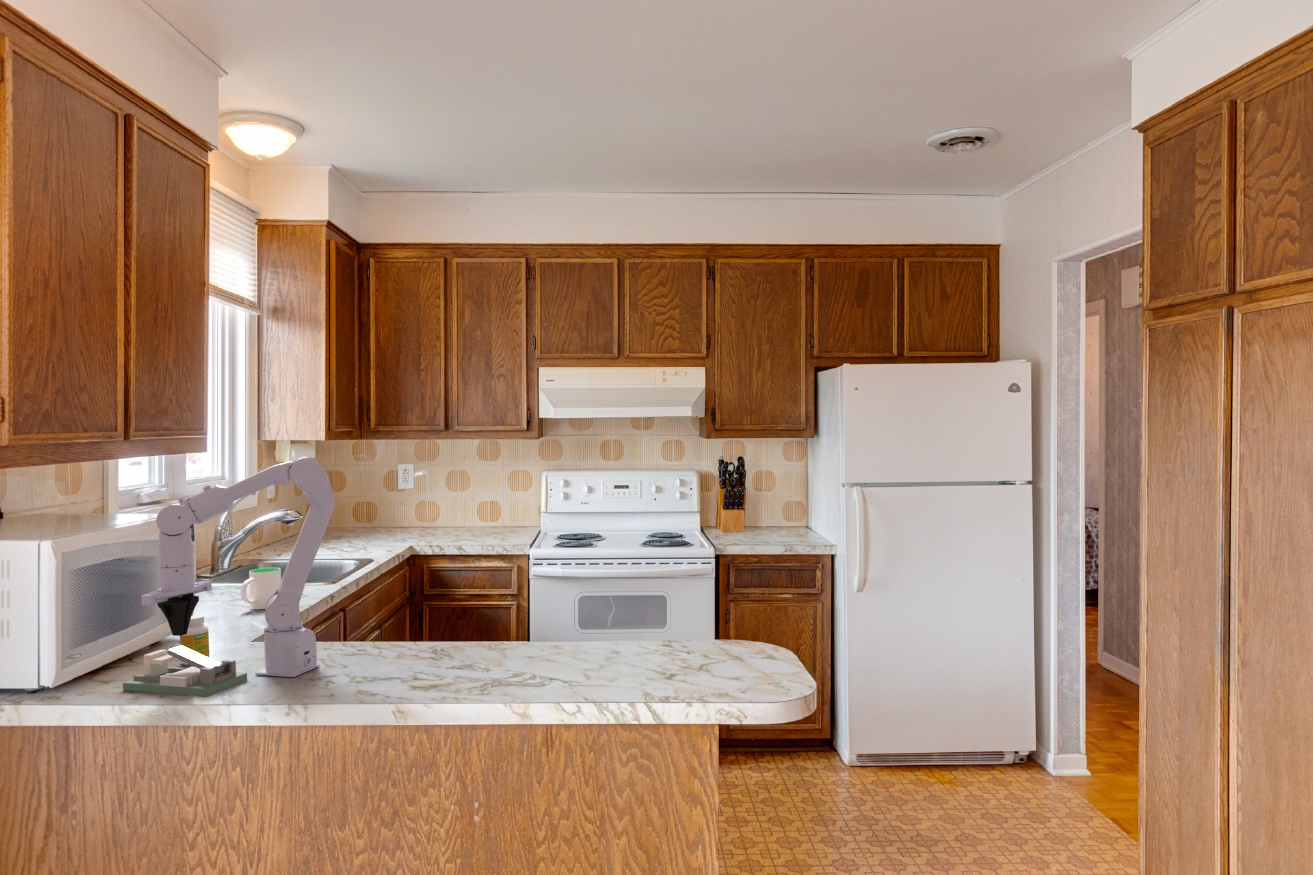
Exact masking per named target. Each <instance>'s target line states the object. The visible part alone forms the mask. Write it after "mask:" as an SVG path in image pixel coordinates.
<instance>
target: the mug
mask: <svg viewBox="0 0 1313 875" xmlns="http://www.w3.org/2000/svg"><path fill="white" fill-rule="evenodd" d="M281 580H282V569H281V567H261V568H255V569H251V570H249V571H248V579H246V580H244V581H243V583H242V585H241V589H240V594H241V600H242V601H243V602H244V603H246V604H249V605H250V606H249V607H250V609H251V608H252V609H251V610H253V609H265V610H266V604H267V601H268V599H269V598H270V597H271V596H272V595H273V594H274V593H275V592H276V591H277V589H278V586H279V584H280V582H281ZM248 586H249V598H250V599H248V596H247V587H248Z"/></svg>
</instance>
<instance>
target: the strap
mask: <svg viewBox="0 0 1313 875" xmlns="http://www.w3.org/2000/svg"><path fill="white" fill-rule="evenodd" d="M167 654H168V655H170V656H173V657H175V658H177V660H179V661H180V662H181V661H183V662H185V663H188V664H190V665H189V666H191V667H196V668H198V669H201V668H214V670H215V676H216V675H219V674H222V673H224V672H227V671H228V670H229V665H228V663H226V662H225V663H222V662H219V661H217V660H215V659H213V658H210V657H209V658H208V657H206V656H204V655H202V654H199V653H197V652H195V651H193V650H191V649H189V648H186V647H184V646H182V645H181V646H180V645H179V646H178V645H177V646H175V647H172V648H169V649H167ZM221 663H222V664H221Z"/></svg>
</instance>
